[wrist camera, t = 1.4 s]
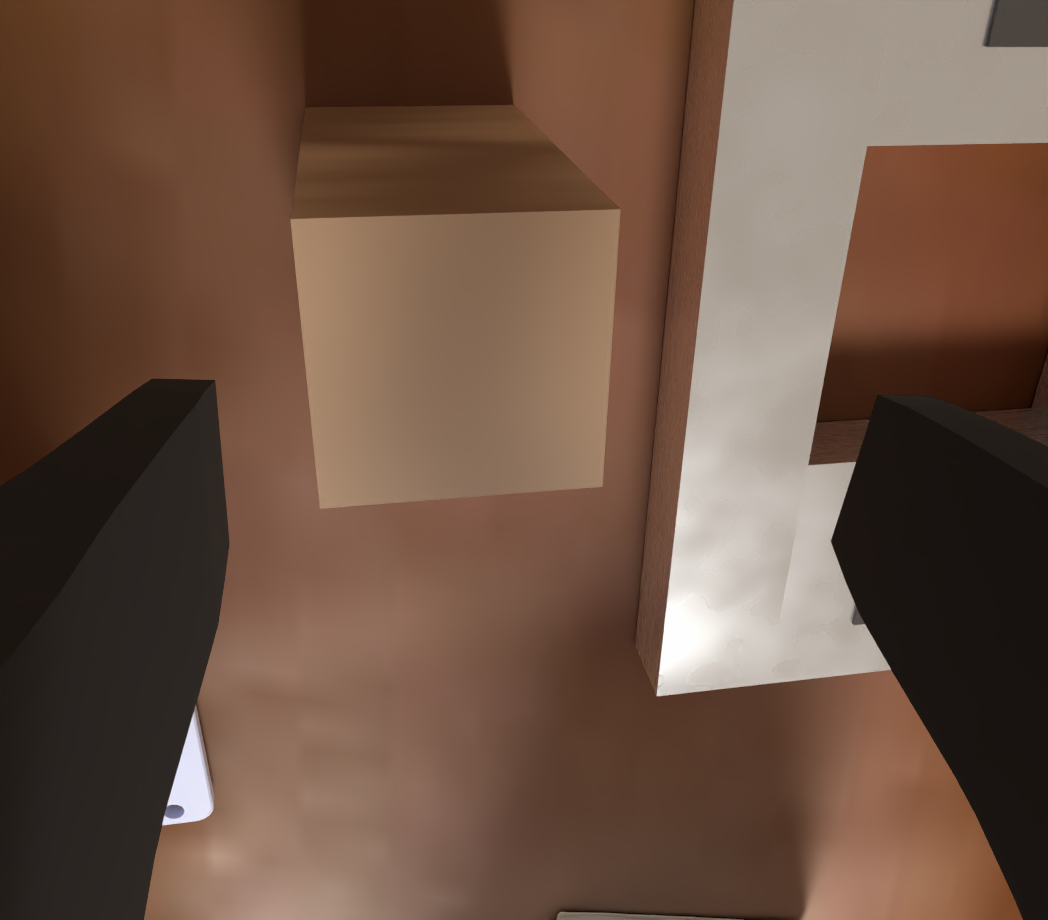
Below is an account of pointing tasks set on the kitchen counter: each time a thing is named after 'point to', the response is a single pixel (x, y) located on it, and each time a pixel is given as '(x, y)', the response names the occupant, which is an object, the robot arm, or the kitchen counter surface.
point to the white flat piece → (793, 310)
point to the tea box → (624, 917)
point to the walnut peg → (450, 304)
